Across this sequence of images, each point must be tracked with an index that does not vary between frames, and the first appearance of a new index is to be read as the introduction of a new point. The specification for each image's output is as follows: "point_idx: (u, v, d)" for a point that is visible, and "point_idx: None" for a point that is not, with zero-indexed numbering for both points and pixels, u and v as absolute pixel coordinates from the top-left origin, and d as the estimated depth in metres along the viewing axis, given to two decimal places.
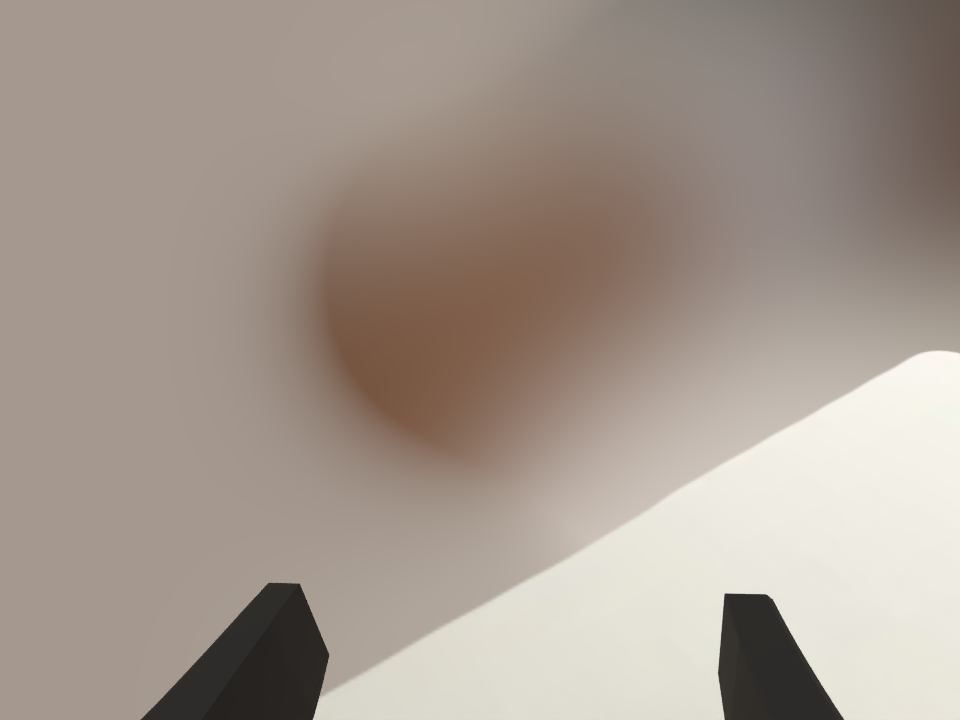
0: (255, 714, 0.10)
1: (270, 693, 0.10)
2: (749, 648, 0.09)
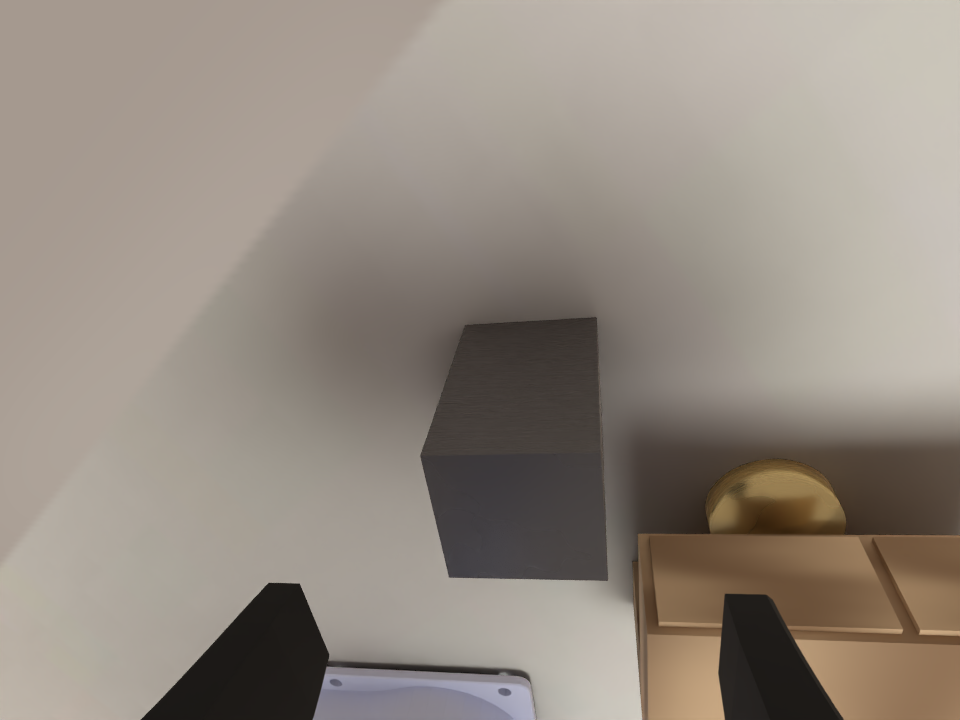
0: (255, 715, 0.10)
1: (270, 693, 0.10)
2: (749, 648, 0.09)
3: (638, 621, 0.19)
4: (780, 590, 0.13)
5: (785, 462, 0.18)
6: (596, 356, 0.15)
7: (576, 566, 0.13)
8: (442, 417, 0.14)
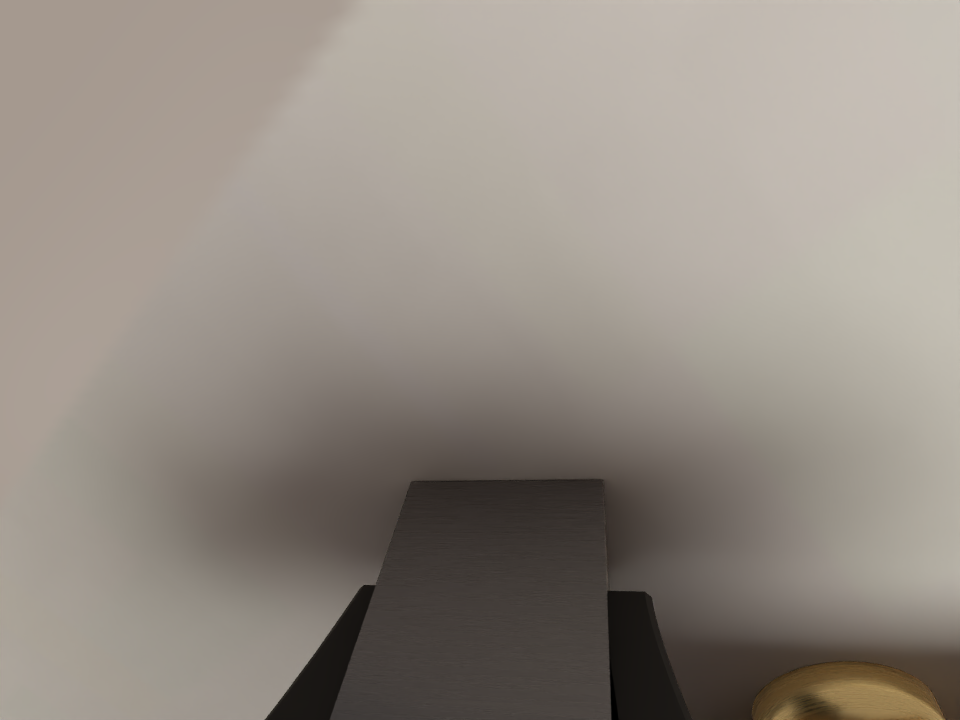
0: None
1: None
2: (614, 643, 0.09)
3: None
4: None
5: (871, 669, 0.12)
6: (604, 570, 0.09)
7: None
8: (349, 704, 0.08)
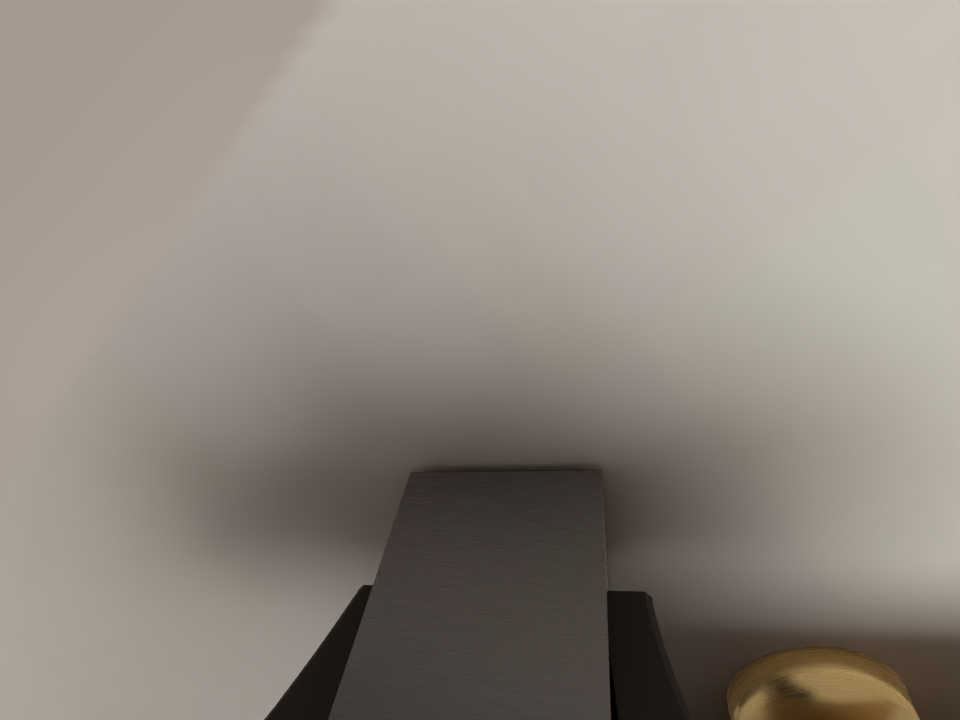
0: None
1: None
2: (615, 643, 0.09)
3: None
4: None
5: (839, 654, 0.13)
6: (603, 560, 0.09)
7: None
8: (350, 695, 0.08)
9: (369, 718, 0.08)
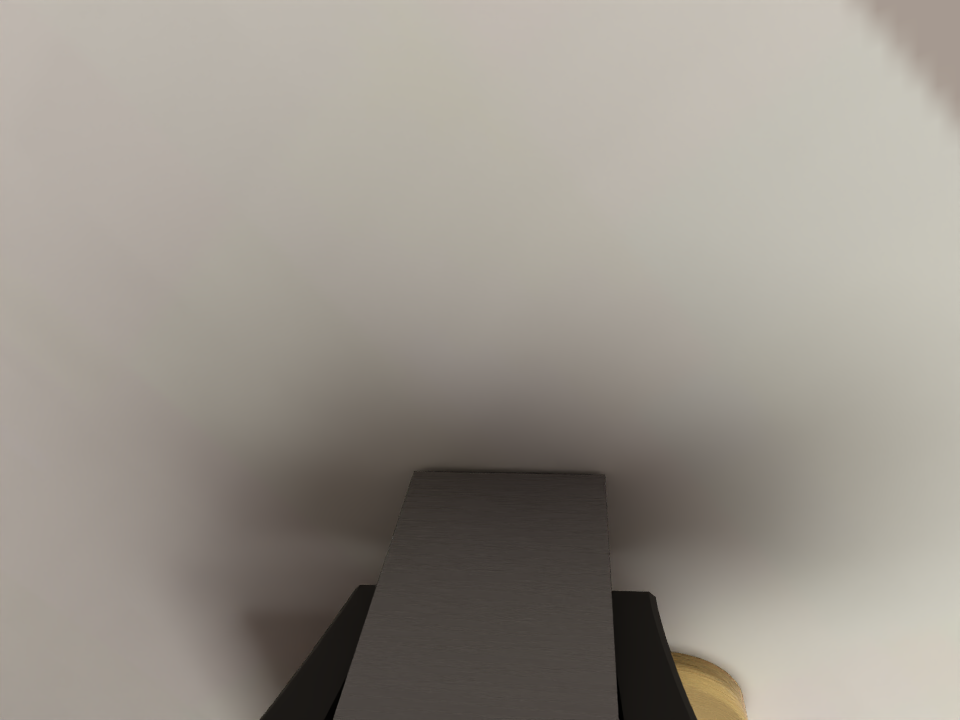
0: None
1: None
2: (619, 643, 0.09)
3: None
4: None
5: (681, 668, 0.13)
6: (607, 562, 0.10)
7: None
8: (358, 688, 0.08)
9: (377, 711, 0.08)
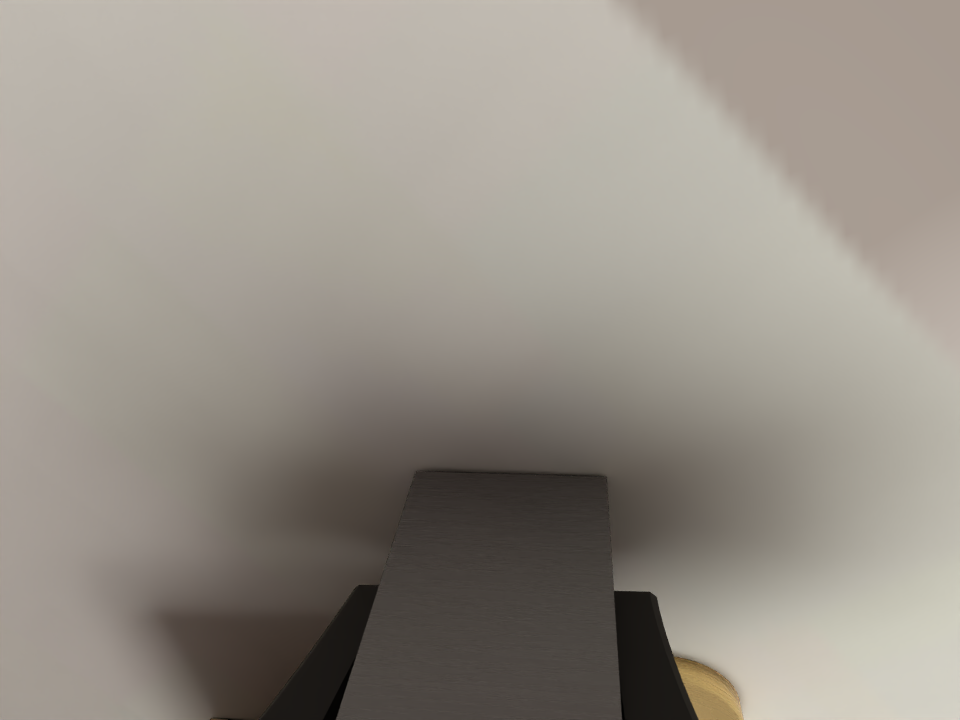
0: None
1: None
2: (620, 643, 0.09)
3: None
4: None
5: (678, 663, 0.14)
6: (609, 563, 0.10)
7: None
8: (361, 687, 0.08)
9: (381, 710, 0.08)
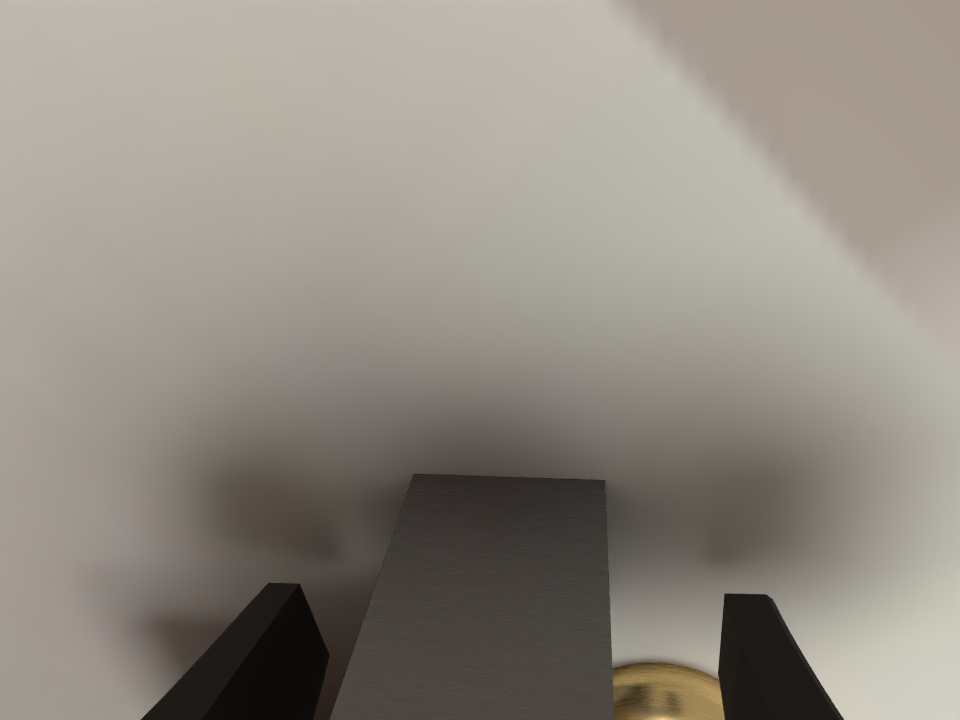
0: (256, 715, 0.10)
1: (270, 693, 0.10)
2: (749, 648, 0.09)
3: None
4: None
5: (679, 671, 0.13)
6: (606, 569, 0.10)
7: None
8: (353, 693, 0.08)
9: (372, 717, 0.08)
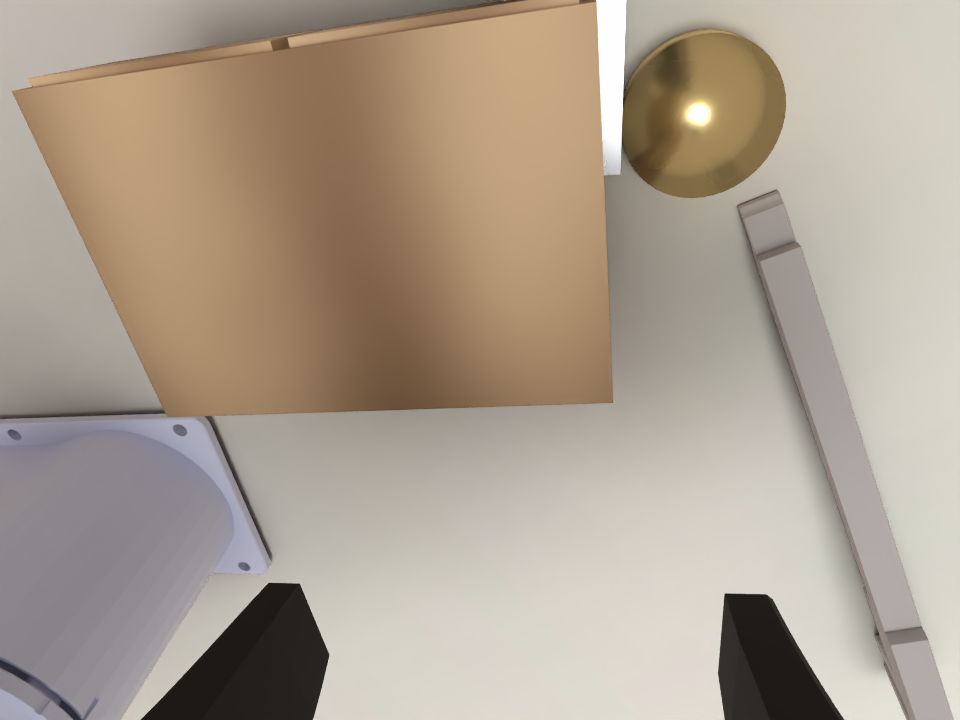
0: (256, 715, 0.10)
1: (270, 693, 0.10)
2: (749, 648, 0.09)
3: None
4: (186, 52, 0.11)
5: None
6: None
7: None
8: None
9: None
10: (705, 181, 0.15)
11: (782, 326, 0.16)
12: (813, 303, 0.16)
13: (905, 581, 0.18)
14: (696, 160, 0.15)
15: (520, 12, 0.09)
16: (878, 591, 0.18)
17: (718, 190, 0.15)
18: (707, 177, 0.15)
